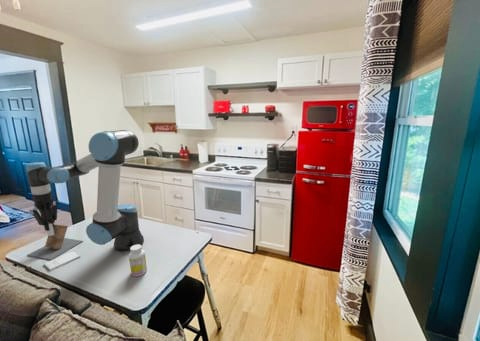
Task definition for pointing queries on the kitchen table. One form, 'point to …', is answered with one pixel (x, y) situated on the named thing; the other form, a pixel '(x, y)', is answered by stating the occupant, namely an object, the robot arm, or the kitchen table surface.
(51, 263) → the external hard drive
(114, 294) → the kitchen table surface
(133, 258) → the supplement bottle
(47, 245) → the brown box
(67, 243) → the mat
